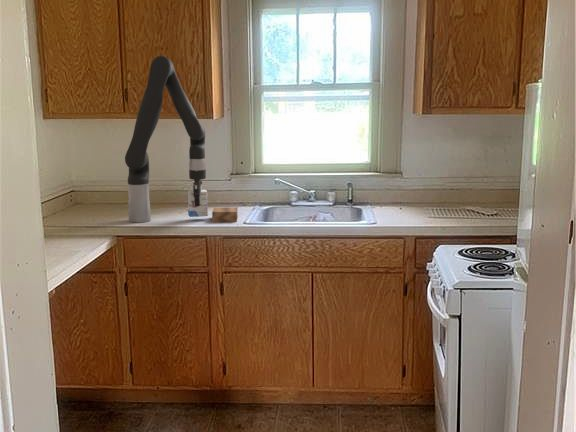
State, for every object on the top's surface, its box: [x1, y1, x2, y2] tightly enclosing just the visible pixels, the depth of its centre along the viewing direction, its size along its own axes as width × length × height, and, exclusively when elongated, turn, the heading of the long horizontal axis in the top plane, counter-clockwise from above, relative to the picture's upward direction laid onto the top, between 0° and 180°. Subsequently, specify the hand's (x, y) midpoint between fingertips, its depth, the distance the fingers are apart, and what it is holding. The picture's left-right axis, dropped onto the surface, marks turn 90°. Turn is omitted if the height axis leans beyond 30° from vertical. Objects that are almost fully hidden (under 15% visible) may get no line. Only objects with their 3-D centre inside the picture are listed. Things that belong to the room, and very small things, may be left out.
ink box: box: [187, 189, 209, 218], centre depth 267 cm, size 9×5×12 cm, turn 105°
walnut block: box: [211, 206, 239, 223], centre depth 268 cm, size 11×11×5 cm
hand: (198, 204), depth 267 cm, fingers closed on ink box, 5 cm apart
